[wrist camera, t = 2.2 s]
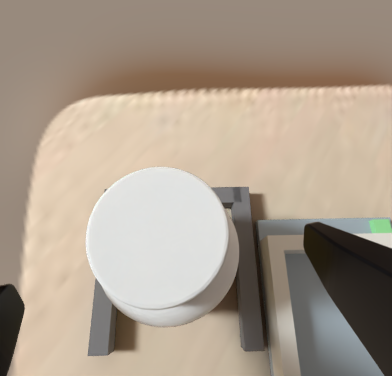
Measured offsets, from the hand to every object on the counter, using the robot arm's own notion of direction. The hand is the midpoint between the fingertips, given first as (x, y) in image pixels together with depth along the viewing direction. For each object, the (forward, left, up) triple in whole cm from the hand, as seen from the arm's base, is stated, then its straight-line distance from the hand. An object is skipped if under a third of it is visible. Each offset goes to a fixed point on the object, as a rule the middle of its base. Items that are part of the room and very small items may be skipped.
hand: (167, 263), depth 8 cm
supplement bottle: (+1, 0, -9) cm, 9 cm away
